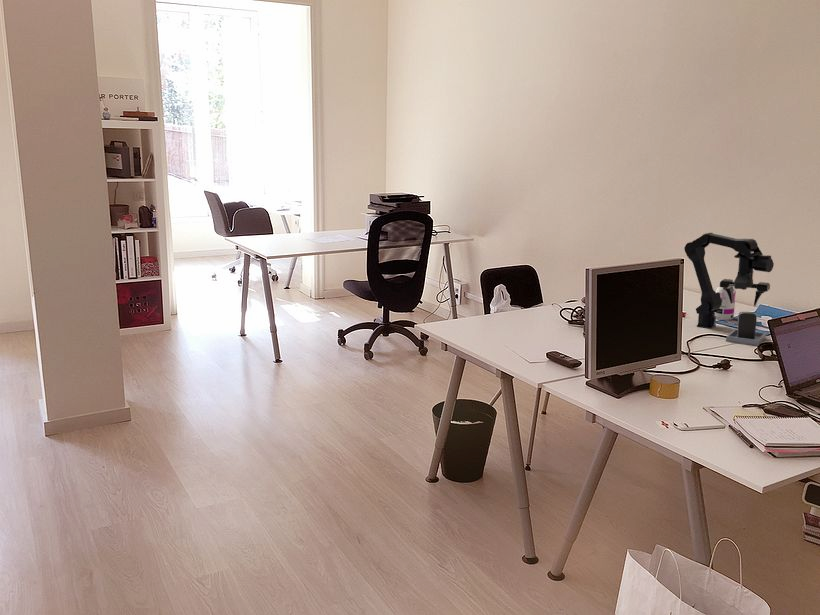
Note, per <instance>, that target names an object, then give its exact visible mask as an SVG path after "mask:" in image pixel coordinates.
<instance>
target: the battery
mask: <svg viewBox="0 0 820 615" xmlns="http://www.w3.org/2000/svg"><path fill="white" fill-rule="evenodd" d="M757 320H758V315H757V314H756V313H755V312H752V311H741V312H739V313H738V315H737V330H738V333H737V337H739V338H746V339H755V332H756V329H757Z"/></svg>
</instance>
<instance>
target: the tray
mask: <svg viewBox="0 0 820 615" xmlns="http://www.w3.org/2000/svg"><path fill="white" fill-rule="evenodd" d="M737 333H738V328H736V329H735V328H734V329H733V330H732V331H731V332H730V333H728V334H727V335H726V338H725V342H729V343H736V344H744V345H749V346H750V345H751V346H755V347H756V346H757V347H759V346H760V345H761V343H762V342H763V341H765V340H766V338H767V336H766V335H767V333H766V332H759V331H755V339H746V338H739V337H737Z"/></svg>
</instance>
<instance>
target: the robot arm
mask: <svg viewBox="0 0 820 615" xmlns="http://www.w3.org/2000/svg"><path fill="white" fill-rule="evenodd" d="M711 244H713V245H718V246H721V247H726V248H730V249H732V250H734V251H735V252H737V253H736V254H735V255H734V258H735V259H738V271H737V274H736V277H735V279H734V280H733V279H732V278H724V279H721V281H720V282H719V286H720V287H722V288H723V289H724V290H726V291H727V293H728V296H729V299H730V302H731V304H732V303H733V287H734V288H735V290H739V289H740V290H742V291H745V290H747V289H748V288H749V289H750V288H751V289H756V291H755V297H754V300H753V306H754V307H756V305H757V304H758V301H759V300H760V298H761V296H762V295H763V294H764V293H766V292H768V291H769V290H771V284H770V283H769V282H762V281H760V282H758V283H754V278H753V277H754V271H757V272H765V273H770V272H772V271H773V269H774V261H773V258H772V255H764V254H763V252H762V250H761V249H760V247H759V246H758V245H759V244H758V242H757V240H755V239H754V238H734V237H729V236H725V235H722V234H721V235H720V234H717V233H713V232H705V233H703V234H702V235H701V236H699V237H698V238H696V239H694V240H692V241H689V242H687V243H686V244H685V246H684V248H683V249H684V252H685V255H686V256H687V258H688V259H689V260H690V261H691V263H692V264H693V268H694V271H695V275H696V277H697V281H698V284H699V288H700V291H701V296H700V305H699V306H697V307H696V308H695V311H696V314H698V317H697V318H698V320H697V324H696V327H697V328H699V327H700V328H706V329H713V328H714V327H715V326H716V324H717V319H716V316H715V312H717V311H718V309H719V308H720V307H721V305H722V302H721V301H722V299H721V297H720V293H719V292H718V293H716V290H714V288H713V285H712V281H711V277H710V274H709V271H708V267H707V265H706V262H705V255H706V248H707V247H708V246H709V245H711Z"/></svg>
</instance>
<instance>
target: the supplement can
mask: <svg viewBox="0 0 820 615" xmlns="http://www.w3.org/2000/svg"><path fill="white" fill-rule="evenodd" d="M736 290H737V289H735V288H734V286H733V303H732V304H731V302H730V299H729V296H728V293H727V291H726V290H724V289H723V288H722V287H720V285H718V286H717V288H716V290H715V292H716V293H718V292H719V293H720V297H721V299H722V301H721V302H722V305H721V307H720V308H719V309H718V311H717V312H714V313H715V316H716V320H719V321H730V320H729V319H732V320H733V319H734V317H735V308H736V307H735V306H736Z"/></svg>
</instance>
